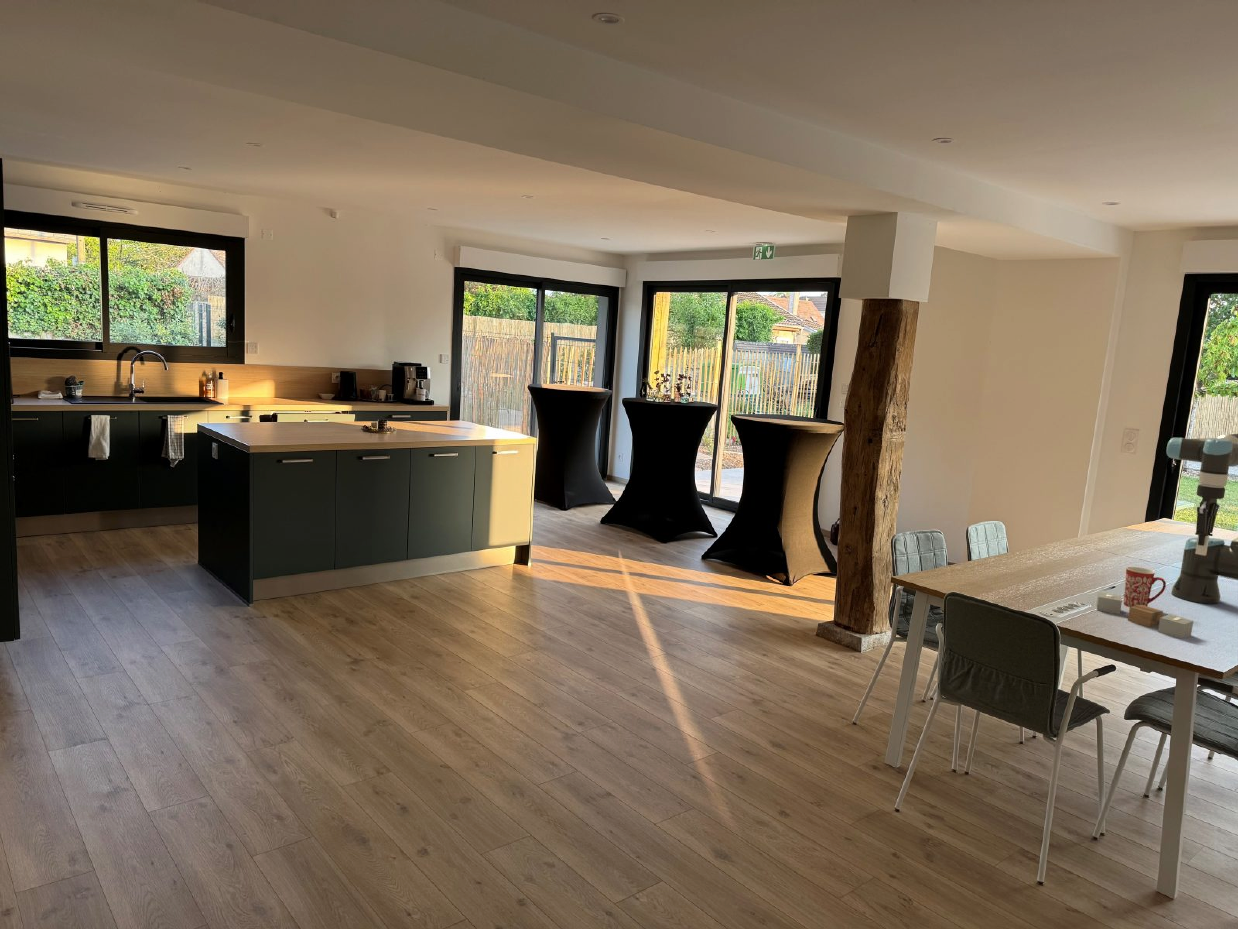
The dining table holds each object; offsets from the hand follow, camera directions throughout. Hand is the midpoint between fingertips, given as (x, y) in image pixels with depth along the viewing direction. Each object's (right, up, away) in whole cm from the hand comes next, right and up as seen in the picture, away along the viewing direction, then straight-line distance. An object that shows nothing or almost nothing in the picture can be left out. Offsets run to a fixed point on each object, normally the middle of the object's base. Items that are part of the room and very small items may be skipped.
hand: (1200, 554), depth 278 cm
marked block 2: (-15, -25, -9) cm, 30 cm away
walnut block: (-19, -23, +1) cm, 30 cm away
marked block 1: (-23, -21, +13) cm, 34 cm away
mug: (-9, -21, +18) cm, 29 cm away
